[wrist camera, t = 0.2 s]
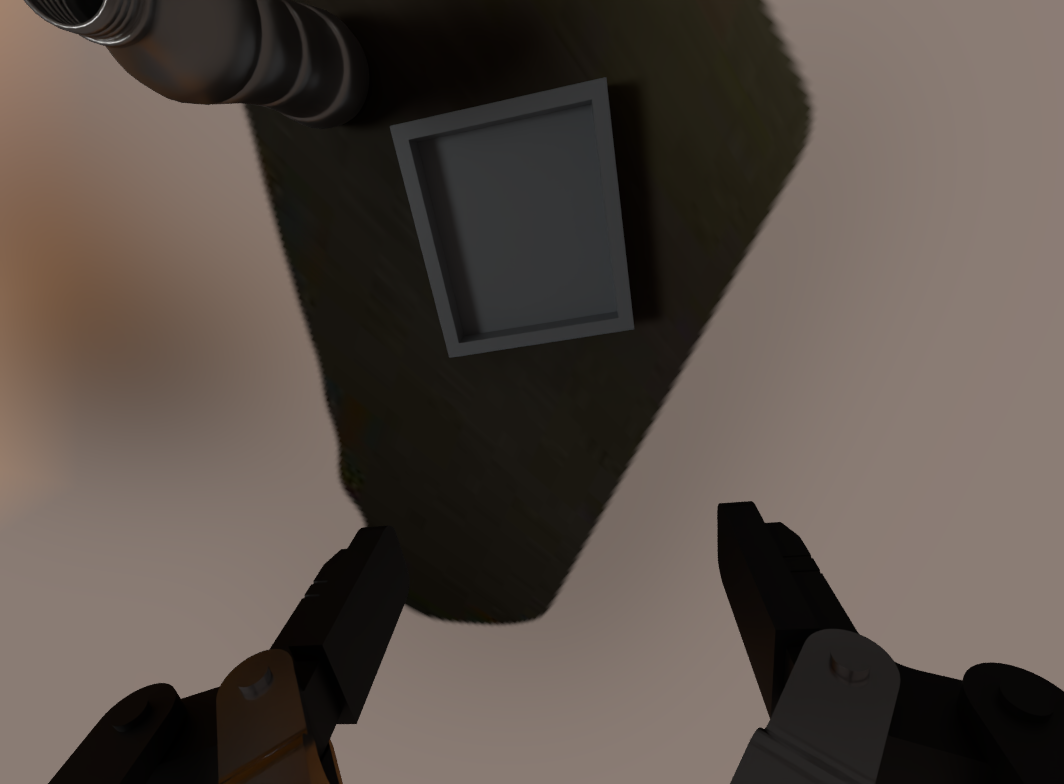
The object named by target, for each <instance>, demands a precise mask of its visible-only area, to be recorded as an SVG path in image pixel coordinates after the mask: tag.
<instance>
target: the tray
mask: <svg viewBox="0 0 1064 784" xmlns="http://www.w3.org/2000/svg"><path fill="white" fill-rule="evenodd" d="M390 130H391V134H392V137H393V141H394V145H395V149H396V153H397V157H398V161H399V165H400V168H401V172H402V176H403V180H404V184H405V188H406V192H407V196H408V199H409V203H410V207H411V211H412V215H413V219H414V223H415V227H416V230H417V234H418V238H419V242H420V246H421V250H422V254H423V257H424V261H425V265H426V269H427V273H428V277H429V281H430V285H431V288H432V292H433V296H434V300H435V304H436V308H437V312H438V316H439V319H440V323H441V327H442V331H443V335H444V339H445V343H446V347H447V350H448V354H449V358H451V357H458V356H464V355H471V354H477V353H484V352H490V351H497V350H503V349H509V348H516V347H522V346H529V345H535V344H542V343H548V342H554V341H561V340H567V339H574V338H580V337H587V336H593V335H600V334H606V333H612V332H619V331H625V330H632V329H634V322H633V313H632V304H631V295H630V286H629V277H628V268H627V259H626V250H625V242H624V233H623V224H622V215H621V206H620V197H619V188H618V179H617V170H616V161H615V152H614V143H613V134H612V125H611V116H610V107H609V98H608V89H607V81H606V77H604V78H600V79H596V80H591V81H587V82H582V83H578V84H574V85H569V86H565V87H560V88H556V89H551V90H547V91H543V92H538V93H534V94H529V95H525V96H520V97H516V98H512V99H507V100H503V101H498V102H494V103H490V104H485V105H481V106H476V107H472V108H467V109H463V110H459V111H454V112H450V113H445V114H441V115H436V116H432V117H428V118H423V119H419V120H414V121H410V122H406V123H401V124H397V125H392V126H390Z"/></svg>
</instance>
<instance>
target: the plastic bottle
mask: <svg viewBox="0 0 1064 784" xmlns="http://www.w3.org/2000/svg"><path fill="white" fill-rule="evenodd" d="M24 1H25V2H26V4H27V5H28V6H29V7H30V8H31V9H32V10H33V11H34V12H35V13H36V14H38V15H39V16H40V17H41V18H43V19H44V20H45V21H47V22H49V23H51V24H53V25H55V26H56V27H58V28H60V29H63V30H66V31H69V32H72V33H76V34H79V35H80V36H82V37H83V38H85V39H87V40H89V41H91V42H94V43H97V44H100V45H104V46H106V47H107V49H108V50H109V51H110V53H111V54H112V56H113V57H114V58H115V59H116V60H117V62H118V63H119V64H120V65H121V66H122V67H123V68H124V69H125V70H126V71H127V72H128V73H129V74H130V75H131V76H133V77H134V78H135V79H137V80H138V81H139V82H140V83H142V84H144V85H145V86H147V87H148V88H150V89H152V90H153V91H155V92H157V93H159V94H161V95H162V96H164V97H166V98H168V99H171V100H175V101H178V102H181V103H192V104H205V105H210V104H232V103H244V104H252V105H260V106H265V107H268V108H270V109H273V110H275V111H278V112H280V113H282V114H283V115H285V116H286V117H288V118H290V119H292V120H294V121H296V122H298V123H300V124H302V125H304V126H308V127H311V128H317V129H325V128H332V127H336V126H340V125H342V124H345V123H347V122H348V121H350V120H351V119H353V118H354V117H355V116H356V115H357V114H358V112H359V111H360V110H361V108H362V106H363V104H364V103H365V100H366V97H367V94H368V89H369V68H368V62H367V59H366V56H365V53H364V50H363V49H362V47H361V45H360V43H359V41H358V40H357V39H356V37H355V36H354V35H353V33H352V32H351V31H350V30H349V28H348V27H347V26H346V25H345V23H343V22H342V21H341V20H340V19H339V18H338V17H337V16H335V15H333V14H332V13H330V12H328V11H327V10H323V9H320V8H317V7H314V6H311V5H308V4H302V3H297V2H294V1H292V0H24Z"/></svg>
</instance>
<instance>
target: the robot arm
mask: <svg viewBox="0 0 1064 784" xmlns="http://www.w3.org/2000/svg"><path fill="white" fill-rule="evenodd" d="M717 513H718V515H717V516H718V517H717V519H718V564H719V569H720V574H721V579H722V583H723V586H724V588H725V591H726V594H727V597H728V600H729V603H730V605H731V608H732V611H733V614H734V617H735V620H736V623H737V626H738V628H739V631H740V634H741V637H742V640H743V643H744V645H745V648H746V651H747V654H748V657H749V660H750V662H751V665H752V668H753V671H754V674H755V677H756V680H757V683H758V685H759V688H760V691H761V694H762V697H763V700H764V703H765V705H766V708H767V711H768V714H769V717H770V721H769V723H768V725H767V727H766V728H765V729H763V728H758V729H757V730H756V731H755V733H754V734H753V736H752V738H751V740H750V742H749V744H748V746H747V748H746V750H745V753H744V755H743V757H742V759H741V761H740V763H739V766H738V768H737V770H736V772H735V774H734V776H733V778H732V781H731V783H730V784H1064V691H1062V690H1061V689H1059V688H1058V687H1057V686H1055V685H1054V684H1052V683H1050V682H1049V681H1047V680H1046V679H1044V678H1042V677H1040V676H1038V675H1036V674H1034V673H1032V672H1029V671H1026V670H1024V669H1022V668H1018V667H1015V666H1012V665H1007V664H1002V663H981V664H977V665H975V666H973V667H971V668H970V669H968V670H967V671H966V673H965V675H964V677H963V681H962V680H958V679H954V678H949V677H945V676H940V675H936V674H932V673H927V672H923V671H919V670H915V669H912V668H908V667H906V666H903V665H900V664H898V663H896V662H894V661H893V660H892V658H891V657H890V656H889V654H888V653H887V652H886V651H885V650H884V649H882V648H881V647H880V646H879V645H877V644H876V643H875V642H873V641H871V640H870V639H868V638H866V637H864V636H862V635H860V634H859V633H858V632H857V631H856V629H855V627H854V626H853V624H852V622H851V621H850V619H849V617H848V616H847V614H846V612H845V611H844V609H843V608H842V606H841V604H840V602H839V601H838V599H837V597H836V596H835V594H834V593H833V591H832V589H831V588H830V586H829V584H828V583H827V581H826V579H825V578H824V576H823V574H821V573H820V569H819V568H818V566H817V565H816V563H815V561H814V559H813V558H811V555H810V553H809V551H808V550H807V548H806V546H805V545H804V543H803V541H802V540H801V538H800V537H799V536H798V535H797V534H796V533H794V532H793V531H792V530H790V529H789V528H788V527H787V526H785V525H784V524H783V523H781V522H775V523H764V521H763V519H762V517H761V515H760V513H759V511H758V509H757V507H756V506H755V504H754V503H753V502H752V501H748V502H734V503H720V504H719V505H718V511H717ZM408 591H409V574H408V569H407V566H406V563H405V560H404V557H403V554H402V550H401V547H400V544H399V541H398V538H397V535H396V532H395V530H394V528H393V527H392V526H378V527H364V528H361V529H360V530H359V531H358V532H357V534H356V535H355V537H354V539H353V540H352V542H351V544H350V546H349V547H348V549H341V550H340V551H339V552H338V553H337V554H335V555H334V556H333V557H332V558H331V559H330V560H329V561H328V562H326V563H325V564H324V566H323V567H322V569H321V570H320V572H319V574H318V575H317V576H316V578H315V580H314V584H312V585H311V586H310V588H309V589H308V590H307V592H306V594H305V598H303V599H302V600H301V601H300V603H299V604H298V606H297V607H296V609H295V611H294V612H293V614H292V615H291V617H290V618H289V620H288V622H287V623H286V625H285V626H284V628H283V629H282V631H281V633H280V634H279V636H278V637H277V639H276V640H275V642H274V644H273V645H272V646H271V648H270V649H269V650H266V651H262V652H259V653H257V654H255V655H253V656H251V657H249V658H247V659H246V660H244V661H243V662H242V663H240V664H239V665H238V666H237V667H235V668H234V669H233V670H232V671H231V672H230V673H229V674H228V676H227V677H226V678H225V679H224V681H223V682H222V684H221V686H220V687H217V688H214V689H211V690H208V691H205V692H201V693H198V694H195V695H192V696H189V697H186V698H183V699H180V697H179V695H178V694H177V692H176V690H175V689H174V688H173V686H171V685H169V684H166V683H158V684H153V685H149V686H146V687H144V688H141V689H139V690H137V691H135V692H133V693H132V694H130V695H128V696H127V697H125V698H124V699H122V700H121V701H120V702H118V703H117V704H116V705H115V706H113V707H112V708H111V709H110V710H109V711H108V712H107V713H106V714H105V715H104V716H103V717H102V718H101V720H100V721H99V722H98V723H97V724H96V726H95V727H94V728H93V729H92V730H91V732H90V733H89V734H88V735H87V737H86V738H85V739H84V740H83V741H82V743H81V744H80V745H79V746H78V748H77V749H76V750H75V751H74V753H73V754H72V755H71V756H70V758H69V759H68V760H67V761H66V762H65V764H64V765H63V766H62V767H61V768H60V770H59V771H58V772H57V773H56V775H55V776H54V777H53V778H52V779H51V781H50V782H49V783H48V784H343V783H342V779H341V775H340V771H339V767H338V764H337V759H336V755H335V751H334V748H333V745H332V742H331V740H330V737H331V735H332V733H333V731H334V728H335V726H336V724H357V721H358V719H359V716H360V714H361V711H362V709H363V706H364V704H365V701H366V698H367V696H368V694H369V691H370V689H371V686H372V684H373V681H374V679H375V676H376V674H377V671H378V669H379V666H380V664H381V661H382V659H383V656H384V654H385V651H386V648H387V646H388V644H389V641H390V639H391V636H392V634H393V631H394V629H395V626H396V624H397V621H398V619H399V616H400V614H401V611H402V609H403V606H404V604H405V601H406V599H407V596H408Z"/></svg>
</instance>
